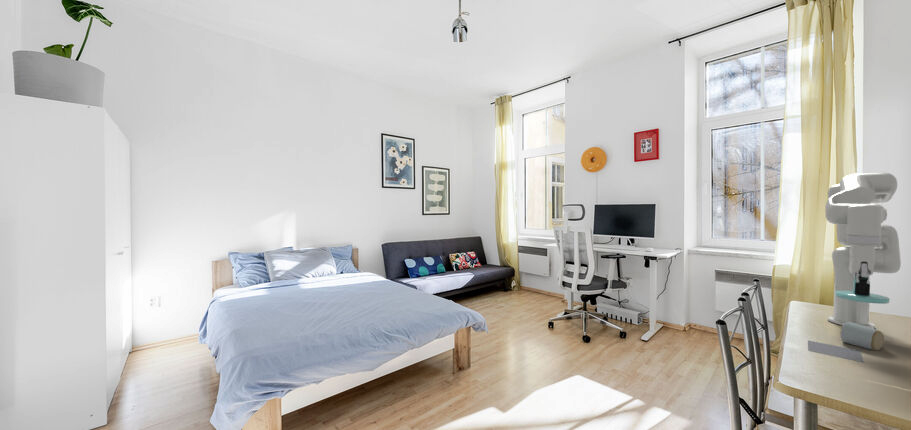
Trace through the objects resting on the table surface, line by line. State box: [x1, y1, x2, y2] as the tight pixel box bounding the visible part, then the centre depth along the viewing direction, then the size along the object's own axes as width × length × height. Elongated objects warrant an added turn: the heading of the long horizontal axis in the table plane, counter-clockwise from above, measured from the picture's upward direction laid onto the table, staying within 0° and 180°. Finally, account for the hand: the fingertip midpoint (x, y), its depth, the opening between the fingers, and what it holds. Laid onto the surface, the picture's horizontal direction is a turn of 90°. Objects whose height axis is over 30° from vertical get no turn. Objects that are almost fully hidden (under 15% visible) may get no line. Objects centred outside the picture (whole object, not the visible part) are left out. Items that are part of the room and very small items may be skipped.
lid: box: [835, 279, 891, 305], centre depth 117 cm, size 12×12×6 cm
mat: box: [807, 340, 865, 363], centre depth 114 cm, size 12×12×1 cm
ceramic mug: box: [840, 322, 885, 351], centre depth 118 cm, size 11×8×8 cm
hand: (861, 293), depth 117 cm, fingers closed on lid, 3 cm apart
